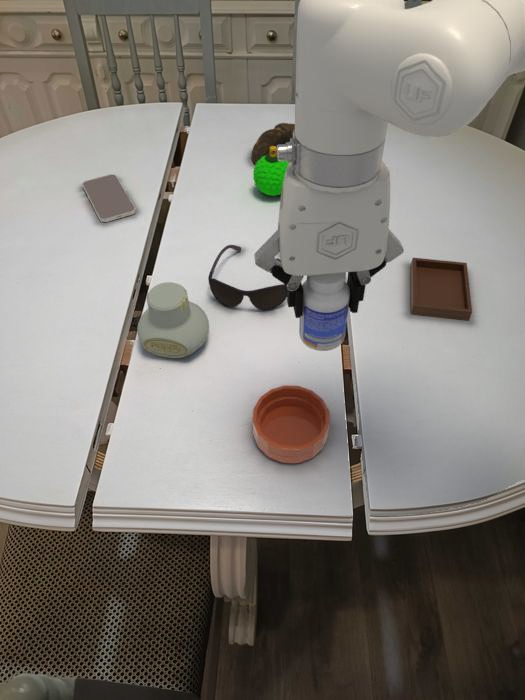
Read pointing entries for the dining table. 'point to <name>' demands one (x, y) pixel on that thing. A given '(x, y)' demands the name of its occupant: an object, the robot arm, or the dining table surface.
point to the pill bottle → (324, 311)
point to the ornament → (270, 173)
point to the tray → (440, 289)
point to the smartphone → (108, 198)
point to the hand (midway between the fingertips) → (324, 305)
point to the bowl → (290, 424)
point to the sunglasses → (233, 296)
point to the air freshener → (172, 322)
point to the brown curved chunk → (272, 140)
